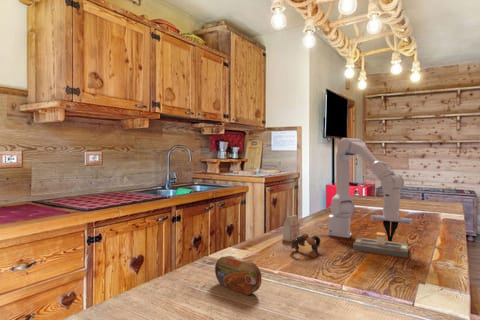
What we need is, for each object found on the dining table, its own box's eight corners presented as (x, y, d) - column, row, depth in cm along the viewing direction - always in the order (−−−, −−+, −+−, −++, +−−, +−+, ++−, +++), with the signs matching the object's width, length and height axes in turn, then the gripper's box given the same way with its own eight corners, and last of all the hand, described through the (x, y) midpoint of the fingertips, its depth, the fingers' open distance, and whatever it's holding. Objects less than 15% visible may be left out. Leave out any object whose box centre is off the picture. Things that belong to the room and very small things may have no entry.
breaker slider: (376, 244, 127) (376, 234, 127) (376, 241, 131) (377, 232, 131) (384, 245, 126) (384, 235, 126) (384, 243, 129) (385, 233, 129)
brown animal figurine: (309, 261, 114) (297, 239, 116) (293, 265, 122) (283, 244, 124) (330, 247, 121) (320, 227, 123) (315, 252, 129) (305, 232, 130)
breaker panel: (352, 249, 127) (353, 243, 127) (356, 241, 138) (356, 235, 138) (407, 257, 119) (408, 250, 119) (407, 248, 129) (407, 242, 129)
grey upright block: (282, 239, 139) (283, 216, 139) (292, 237, 144) (293, 214, 144) (289, 241, 137) (290, 217, 136) (299, 238, 141) (300, 215, 141)
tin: (214, 282, 94) (214, 253, 93) (221, 279, 96) (222, 251, 96) (255, 299, 84) (256, 267, 84) (263, 295, 86) (263, 263, 86)
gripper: (370, 205, 126) (369, 240, 126) (412, 209, 119) (411, 246, 120) (371, 203, 132) (370, 236, 133) (412, 206, 126) (410, 241, 126)
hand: (390, 240), depth 127 cm, fingers closed
